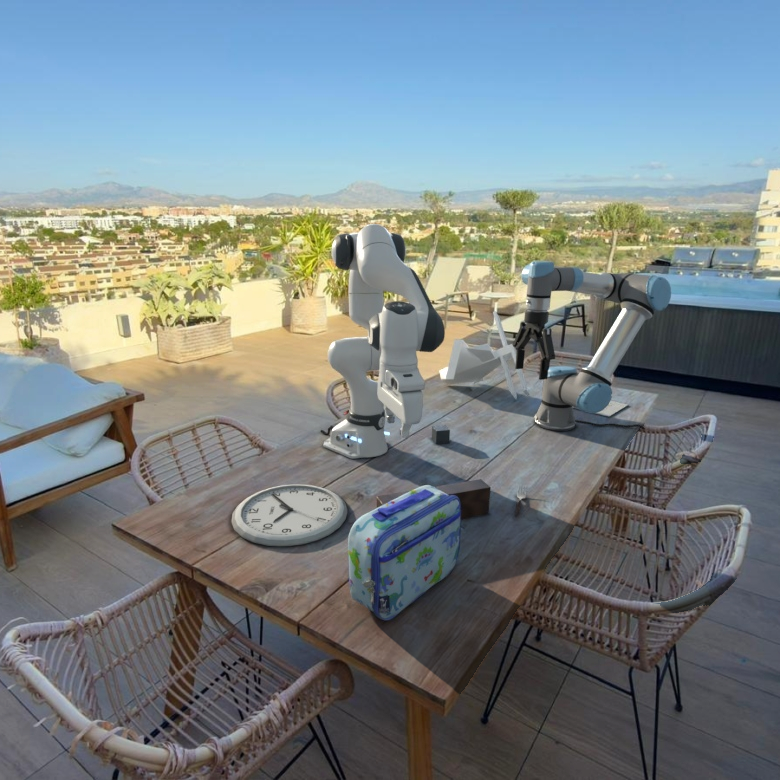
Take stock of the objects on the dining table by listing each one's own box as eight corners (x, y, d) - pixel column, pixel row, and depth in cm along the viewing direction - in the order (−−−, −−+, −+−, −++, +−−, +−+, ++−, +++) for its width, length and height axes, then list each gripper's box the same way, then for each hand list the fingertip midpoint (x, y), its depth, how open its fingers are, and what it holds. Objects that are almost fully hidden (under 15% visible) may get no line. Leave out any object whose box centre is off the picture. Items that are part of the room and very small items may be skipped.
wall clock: (347, 538, 125) (219, 542, 122) (347, 544, 125) (219, 548, 123) (347, 480, 153) (242, 482, 151) (347, 485, 154) (243, 487, 151)
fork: (510, 517, 138) (511, 510, 137) (518, 490, 152) (518, 484, 152) (520, 519, 137) (521, 512, 137) (527, 491, 152) (528, 485, 151)
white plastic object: (461, 429, 252) (437, 405, 227) (444, 352, 274) (420, 323, 250) (535, 404, 240) (518, 377, 215) (510, 326, 262) (492, 293, 237)
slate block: (444, 437, 190) (445, 425, 189) (449, 443, 185) (450, 430, 184) (431, 438, 189) (432, 425, 187) (435, 444, 184) (436, 431, 183)
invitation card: (608, 416, 214) (573, 407, 224) (608, 416, 214) (573, 408, 224) (628, 404, 229) (594, 396, 238) (628, 405, 229) (594, 397, 238)
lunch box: (378, 635, 98) (379, 537, 91) (341, 606, 105) (340, 513, 99) (464, 574, 115) (470, 488, 109) (427, 553, 122) (431, 471, 116)
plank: (479, 505, 144) (481, 478, 142) (488, 514, 140) (490, 487, 137) (376, 523, 134) (376, 496, 132) (382, 534, 130) (383, 505, 127)
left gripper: (371, 363, 129) (371, 415, 134) (401, 387, 111) (400, 446, 115) (395, 361, 131) (394, 413, 136) (428, 384, 113) (426, 443, 117)
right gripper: (506, 305, 179) (501, 365, 185) (551, 317, 156) (543, 384, 163) (524, 304, 181) (519, 363, 188) (571, 316, 159) (563, 382, 165)
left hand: (397, 429), depth 125 cm, fingers open, 8 cm apart
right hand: (530, 373), depth 175 cm, fingers open, 13 cm apart
